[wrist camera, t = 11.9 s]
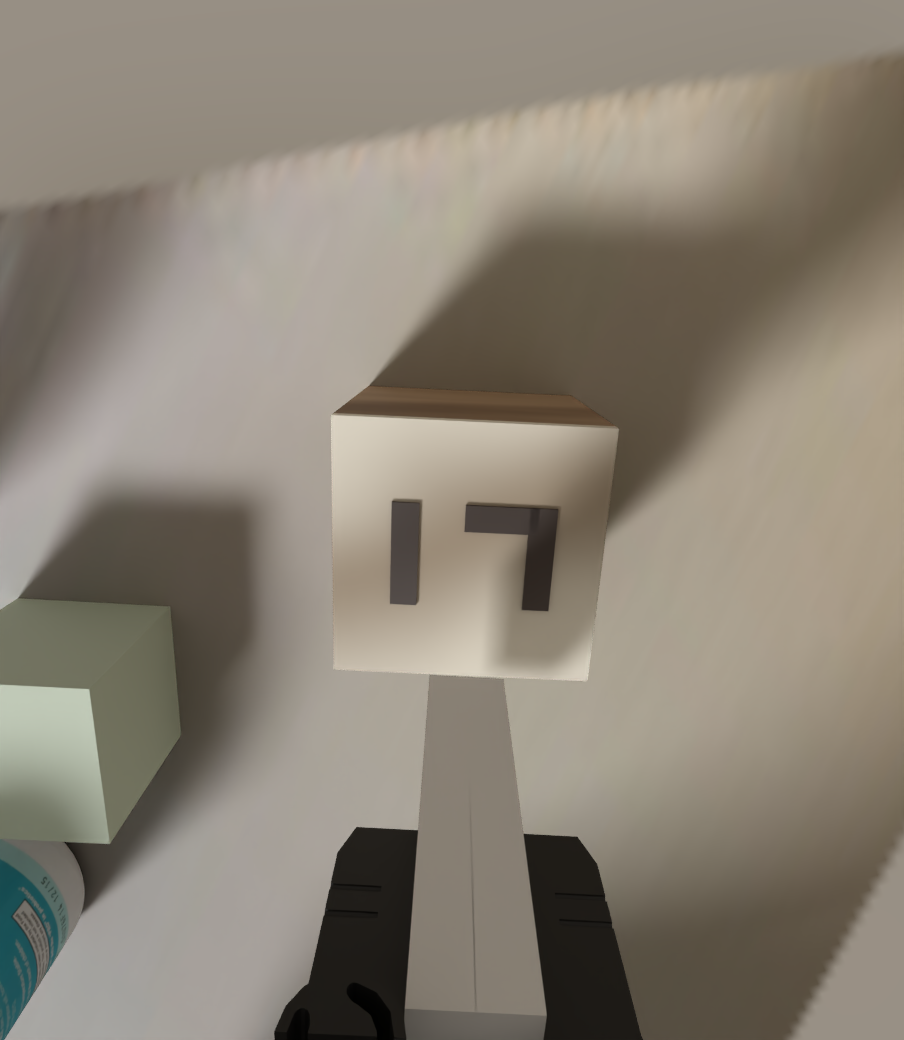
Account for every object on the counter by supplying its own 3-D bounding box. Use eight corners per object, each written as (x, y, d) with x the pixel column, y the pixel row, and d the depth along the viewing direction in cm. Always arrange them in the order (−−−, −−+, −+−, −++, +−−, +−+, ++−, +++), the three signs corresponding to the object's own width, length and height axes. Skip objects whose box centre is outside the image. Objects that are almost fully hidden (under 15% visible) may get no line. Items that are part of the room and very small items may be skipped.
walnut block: (619, 429, 13) (570, 395, 19) (329, 415, 13) (369, 385, 19) (587, 682, 15) (552, 581, 21) (333, 671, 15) (367, 572, 21)
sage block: (182, 733, 23) (109, 844, 18) (40, 726, 23) (-70, 835, 18) (171, 605, 21) (89, 688, 16) (19, 597, 21) (-107, 679, 16)
